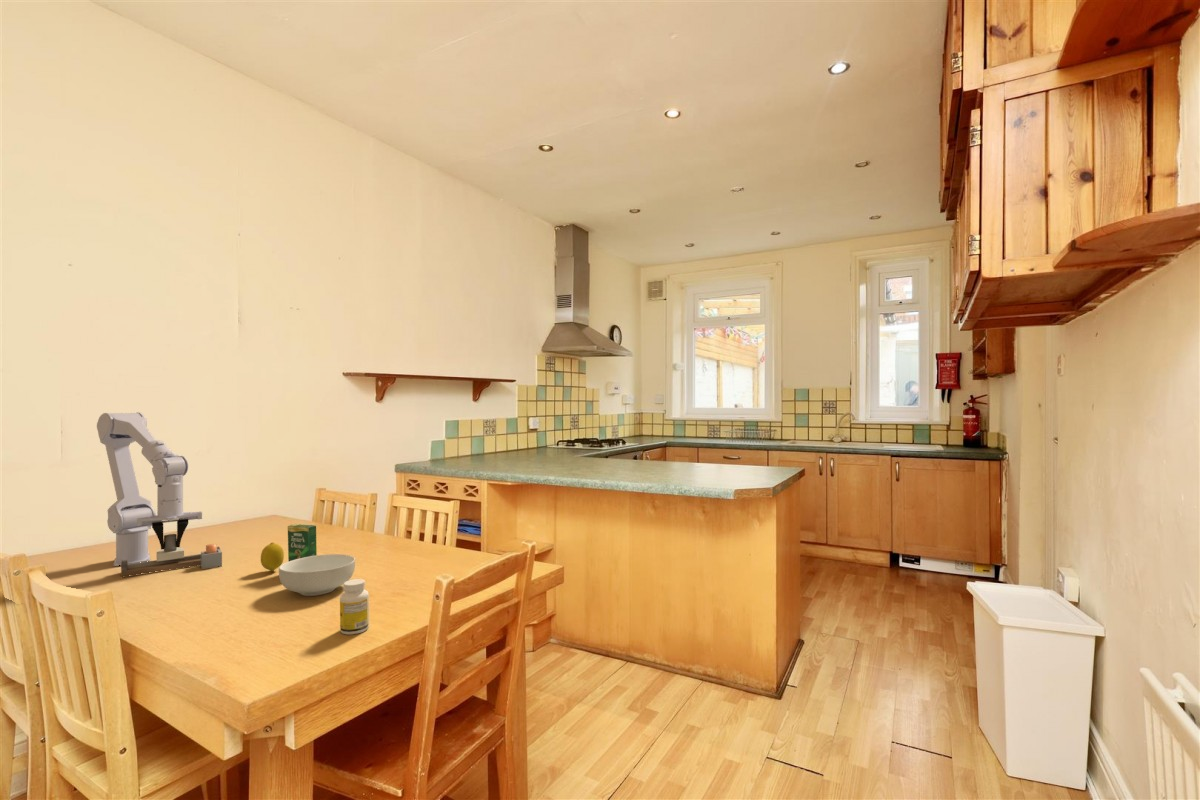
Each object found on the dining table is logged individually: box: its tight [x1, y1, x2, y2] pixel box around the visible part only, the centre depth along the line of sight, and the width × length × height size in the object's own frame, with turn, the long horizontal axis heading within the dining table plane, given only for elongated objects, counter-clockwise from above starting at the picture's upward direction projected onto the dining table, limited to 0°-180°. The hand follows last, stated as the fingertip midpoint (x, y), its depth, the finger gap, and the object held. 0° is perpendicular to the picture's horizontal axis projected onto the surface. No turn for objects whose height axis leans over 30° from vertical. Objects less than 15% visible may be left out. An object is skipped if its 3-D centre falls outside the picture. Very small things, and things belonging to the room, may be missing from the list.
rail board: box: [120, 546, 221, 578], centre depth 156 cm, size 6×22×4 cm, turn 129°
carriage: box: [156, 533, 185, 562], centre depth 156 cm, size 5×6×6 cm
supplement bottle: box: [339, 578, 370, 636], centre depth 112 cm, size 5×5×10 cm
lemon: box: [260, 542, 285, 572], centre depth 152 cm, size 6×6×8 cm
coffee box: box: [287, 523, 318, 562], centre depth 150 cm, size 8×3×13 cm, turn 68°
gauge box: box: [200, 548, 223, 570], centre depth 157 cm, size 5×5×4 cm
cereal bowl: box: [278, 553, 356, 597], centre depth 136 cm, size 17×17×7 cm
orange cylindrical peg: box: [205, 543, 218, 554], centre depth 157 cm, size 2×2×4 cm
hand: (170, 547), depth 156 cm, fingers closed on carriage, 3 cm apart
